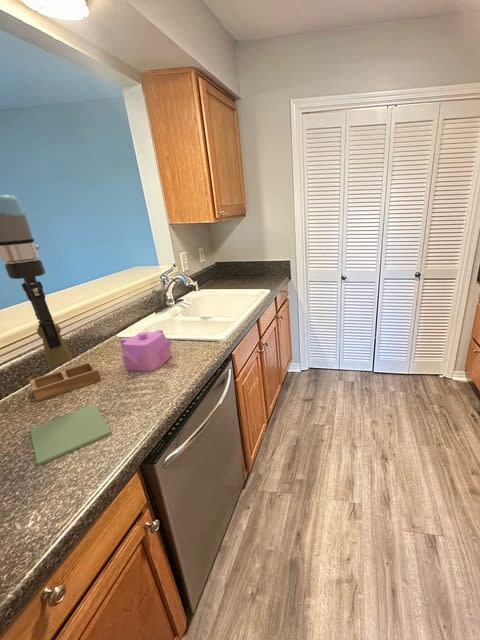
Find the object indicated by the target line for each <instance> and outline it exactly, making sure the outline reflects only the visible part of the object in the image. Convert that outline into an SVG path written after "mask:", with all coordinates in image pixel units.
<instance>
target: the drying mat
mask: <svg viewBox="0 0 480 640" xmlns="http://www.w3.org/2000/svg"><path fill="white" fill-rule="evenodd" d="M29 431H30V436H31V441H32V446H33V451H34V456H35V462H36V465H37V466H41V465H44V464H46V463H48V462H50V461H53V460H55V459H57V458H60V457H61V456H65V455H66V454H69V453H71V452H73V451H75V450H77V449H80V448H83V447H84V446H87V445H90V444H92V443H94V442H96V441H98V440H101V439H103V438H106V437H107V436H110V435H112V430H111V428H110V427H109V425H108V424H107V422H106V420H105V418H104V417H103V414H102V413H101V411H100V410H99V408H98V406H97V404H96V403H95V404H92V405H89V406H86V407H84V408H81V409H79V410H76V411H73V412H70V413H68V414H65V415H62V416H60V417H57V418H55V419H51V420H49V421H46V422H44V423H42V424H39V425H35V426H33V427H31V428H29Z"/></svg>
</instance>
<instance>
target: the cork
mask: <svg viewBox="0 0 480 640" xmlns="http://www.w3.org/2000/svg"><path fill="white" fill-rule="evenodd" d="M53 324H54V326H55V329H56V331H57V334H58V337H59V340H60V342H61V345H62V346H58V347H55V348H51V349H50V348H49V345H48V342H47V340H46V337H45V335H44V332H43V330H42V327H39V326H38V327H37V329H36V333H37V335H38V336H39V337H40V338H41V339H42V344H43V348H44V352H45V358H46V362H47V365H49V366H57V365H62V364H65V363H68V362H69V361H71V360H72V359H73V355H72V354H71V351H70V349H69V347H68V346H67V344H66V343H65V341H64V338H63V337H62V335H61V332H62V330H61V327H60V325H59V324H57V323H55V322H54V323H53Z"/></svg>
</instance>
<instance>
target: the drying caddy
mask: <svg viewBox="0 0 480 640" xmlns="http://www.w3.org/2000/svg"><path fill="white" fill-rule="evenodd" d="M99 380H100V381H102V378H101V375H100V372H99V370H98V368H97V367H96V365H95V364H94V362H93V361H92V360H91V361H89V362H84V363H81V364H78V365H74V366H71V367H68V368H65V369H62V370H61V369H60V370H58V371H55V372H52V373H47V374H45V375H42V376H38V377H35V378H30V379H29V384H30V388H31V392H32V394H33V396H34V399H35V401H36V403H38V402H41V401H43V400H46V399H50V398H53V397H56V396H58V395H61V394H64V393H67V392H70V391H73V390H76V389H80V388H81V387H85V386H87V385H91V384H94V383H97V382H99Z"/></svg>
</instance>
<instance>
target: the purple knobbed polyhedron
mask: <svg viewBox="0 0 480 640" xmlns="http://www.w3.org/2000/svg"><path fill="white" fill-rule="evenodd" d="M172 344H173V341H170V340H168V338H167V337H166V335H165V333H164V331H163V330H162V329H156V330H155V331H151V332H150V331H142V332H139V333H136V334H135V335H134V336H132V337H123V338H120V347H121V353H122V354H121V356H122V362H123V365H124V367H125V368H126V370H127V371H131V372H146V373H147V372H148V373H149V372H153V371H156V370H157V369H158V368H160V367H161V366H162V365H164V364H166V362H167V361H168V360H169V359H170V358H171V356H172V350H171V346H172Z"/></svg>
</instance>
